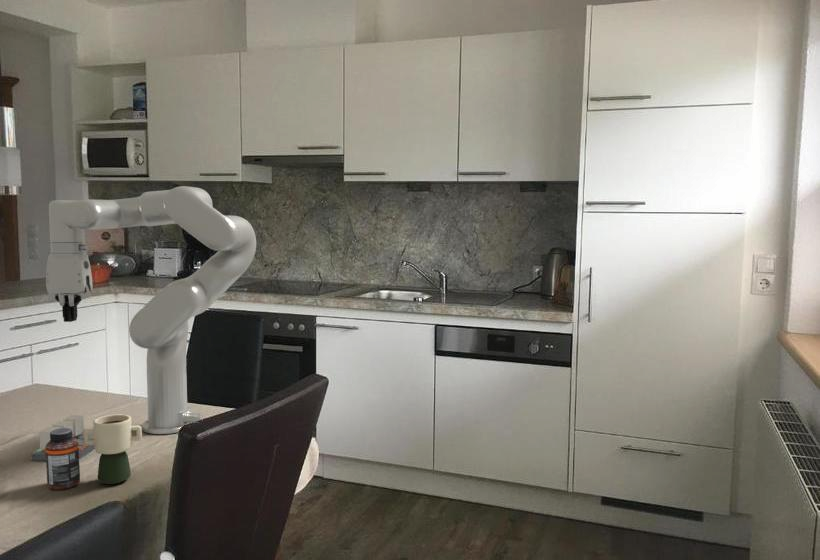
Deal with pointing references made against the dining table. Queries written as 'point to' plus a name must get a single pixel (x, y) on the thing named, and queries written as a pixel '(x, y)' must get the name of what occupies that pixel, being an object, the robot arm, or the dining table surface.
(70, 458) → the supplement bottle
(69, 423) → the block
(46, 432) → the block
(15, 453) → the dining table surface
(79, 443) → the panel
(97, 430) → the character mug
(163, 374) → the robot arm
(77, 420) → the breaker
